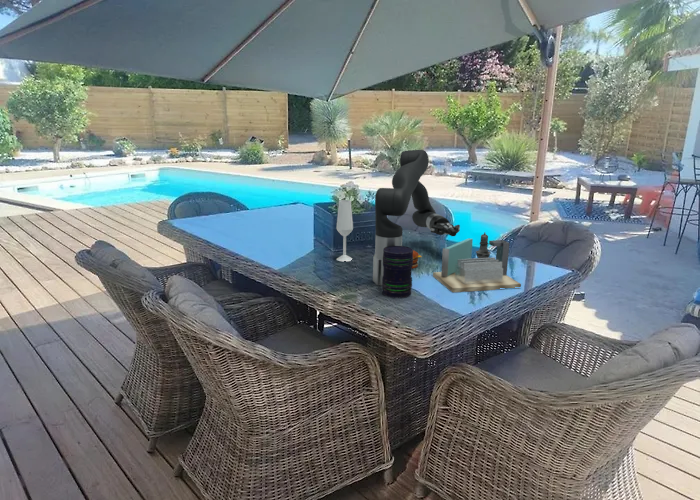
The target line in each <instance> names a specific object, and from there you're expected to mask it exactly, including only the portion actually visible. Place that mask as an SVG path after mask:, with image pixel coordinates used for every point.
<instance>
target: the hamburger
mask: <svg viewBox="0 0 700 500" xmlns="http://www.w3.org/2000/svg"><path fill="white" fill-rule="evenodd" d="M419 258H423V256H422V255H420V254H419V253H418V252H417V251H416V250H414V249H413V266H412V269H416V268H418V267H419V264H418V261H419Z"/></svg>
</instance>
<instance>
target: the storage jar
mask: <svg viewBox="0 0 700 500" xmlns="http://www.w3.org/2000/svg"><path fill="white" fill-rule="evenodd" d="M413 250H414V249H413V248H412V247H410V246H404V245H402V246H388V247H385V248H384V249H383V252H384V253H383V266H384V271H383V277H382V286H381V288H382V290H381V293H382V295H383V296H385V297H387V298H393V299H405V298H408V297H410V296H411V295H412V287H413V277H412V272H413V270H412V266H413Z"/></svg>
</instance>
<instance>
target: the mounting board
mask: <svg viewBox="0 0 700 500" xmlns="http://www.w3.org/2000/svg"><path fill="white" fill-rule="evenodd" d="M432 277H433V278H434V279H436V280H437V281H438V282H439V283H441V284H442V286H444V287H445V288H447V289H448V290H449V291H450V292H451V293H466V292H467V293H468V292H477V291H478V292H482V291H484V292H485V291H497V290H496V289H500V288H515V287H521V286H522V283H520V282H518V281H517V280H516V279H514V278H512V277H510V276H509V275H503V278H502V282H497V283H481V284H463V283H462V282H460V281H459V280H458V279H456V278H455V272H454V273H452V274H450V275H448V276H447V277H442V276H441V271H435V272H434V271H433V273H432ZM521 288H522V287H521ZM515 289H516V288H515ZM500 290H501V289H500Z"/></svg>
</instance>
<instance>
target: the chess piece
mask: <svg viewBox="0 0 700 500" xmlns="http://www.w3.org/2000/svg"><path fill="white" fill-rule="evenodd" d="M488 245H490V244H489V235H487V233H486V232H484V233H483V234H481V235H480V242H479V248H478V250H476V251H475V254H476V258H490V255H491V252H490V251H488V250H489V249H488Z"/></svg>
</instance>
